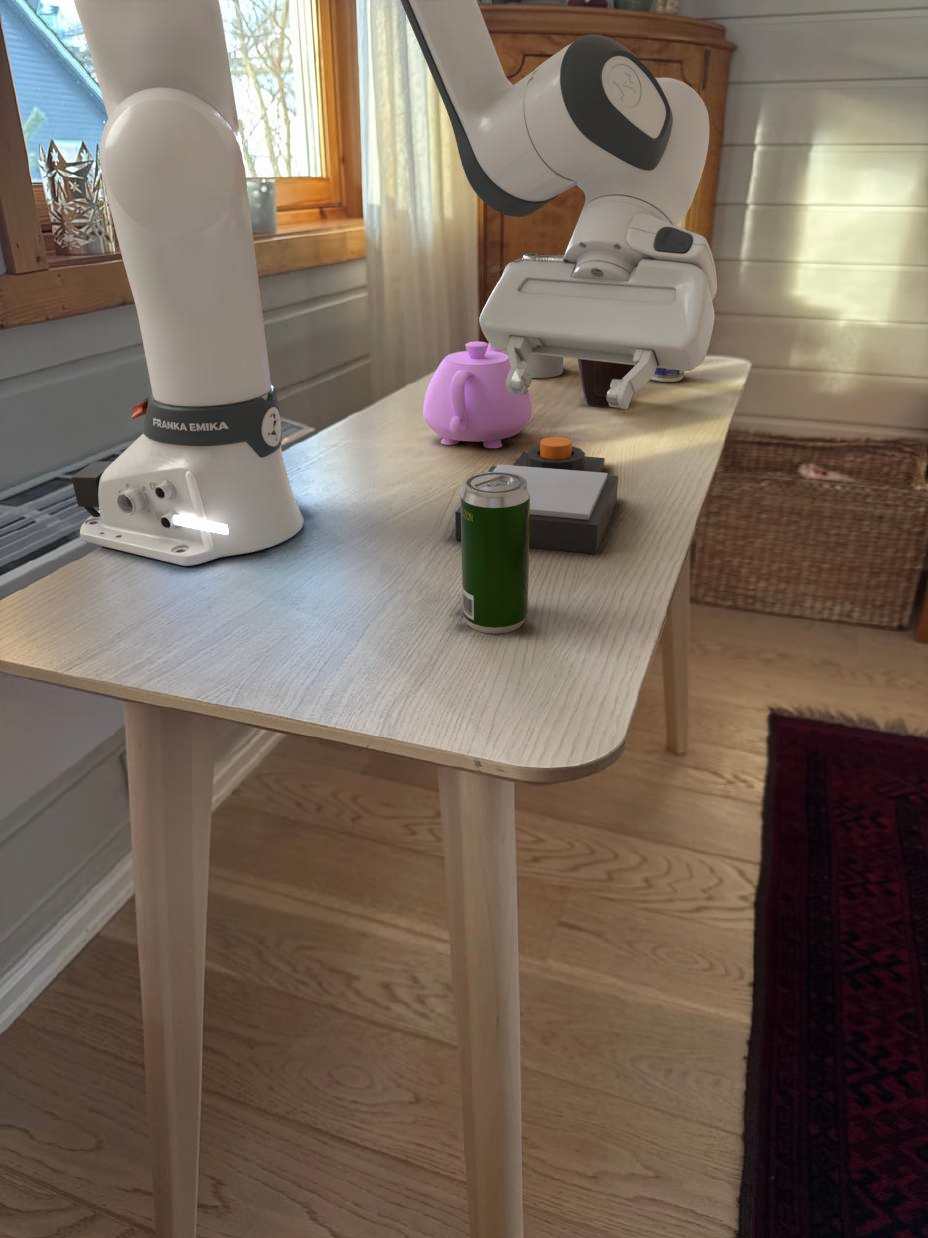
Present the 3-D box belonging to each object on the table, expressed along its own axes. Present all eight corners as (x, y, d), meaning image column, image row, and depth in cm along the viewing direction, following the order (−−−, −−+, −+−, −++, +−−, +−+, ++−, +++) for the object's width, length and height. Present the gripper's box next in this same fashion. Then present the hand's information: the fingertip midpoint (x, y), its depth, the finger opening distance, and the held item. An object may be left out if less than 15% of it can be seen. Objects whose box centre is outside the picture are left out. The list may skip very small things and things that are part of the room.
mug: (643, 394, 136) (649, 312, 130) (635, 420, 124) (641, 331, 118) (577, 391, 138) (581, 310, 132) (563, 417, 126) (566, 329, 120)
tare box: (502, 489, 101) (502, 463, 100) (522, 460, 110) (523, 437, 108) (590, 496, 99) (591, 470, 97) (604, 467, 107) (605, 442, 106)
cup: (571, 369, 151) (573, 307, 146) (548, 380, 145) (550, 315, 140) (527, 364, 155) (527, 303, 150) (503, 374, 149) (503, 311, 144)
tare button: (536, 459, 102) (537, 444, 101) (543, 450, 105) (543, 435, 104) (568, 462, 101) (568, 447, 100) (573, 452, 104) (574, 437, 103)
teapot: (452, 411, 130) (450, 324, 124) (548, 417, 126) (550, 328, 120) (403, 453, 113) (398, 355, 107) (512, 463, 109) (513, 361, 103)
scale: (455, 539, 89) (454, 505, 87) (491, 491, 101) (491, 460, 99) (596, 554, 85) (597, 519, 84) (616, 502, 97) (618, 470, 95)
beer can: (487, 642, 71) (486, 500, 65) (450, 616, 75) (446, 479, 69) (540, 623, 74) (544, 485, 68) (502, 598, 78) (503, 466, 72)
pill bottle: (640, 376, 146) (645, 312, 141) (672, 372, 147) (678, 309, 143) (657, 384, 141) (663, 318, 136) (690, 381, 143) (696, 315, 138)
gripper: (500, 229, 80) (445, 363, 78) (726, 238, 71) (671, 391, 68) (523, 276, 86) (472, 402, 83) (735, 290, 76) (685, 432, 74)
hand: (563, 397), depth 76 cm, fingers open, 8 cm apart
